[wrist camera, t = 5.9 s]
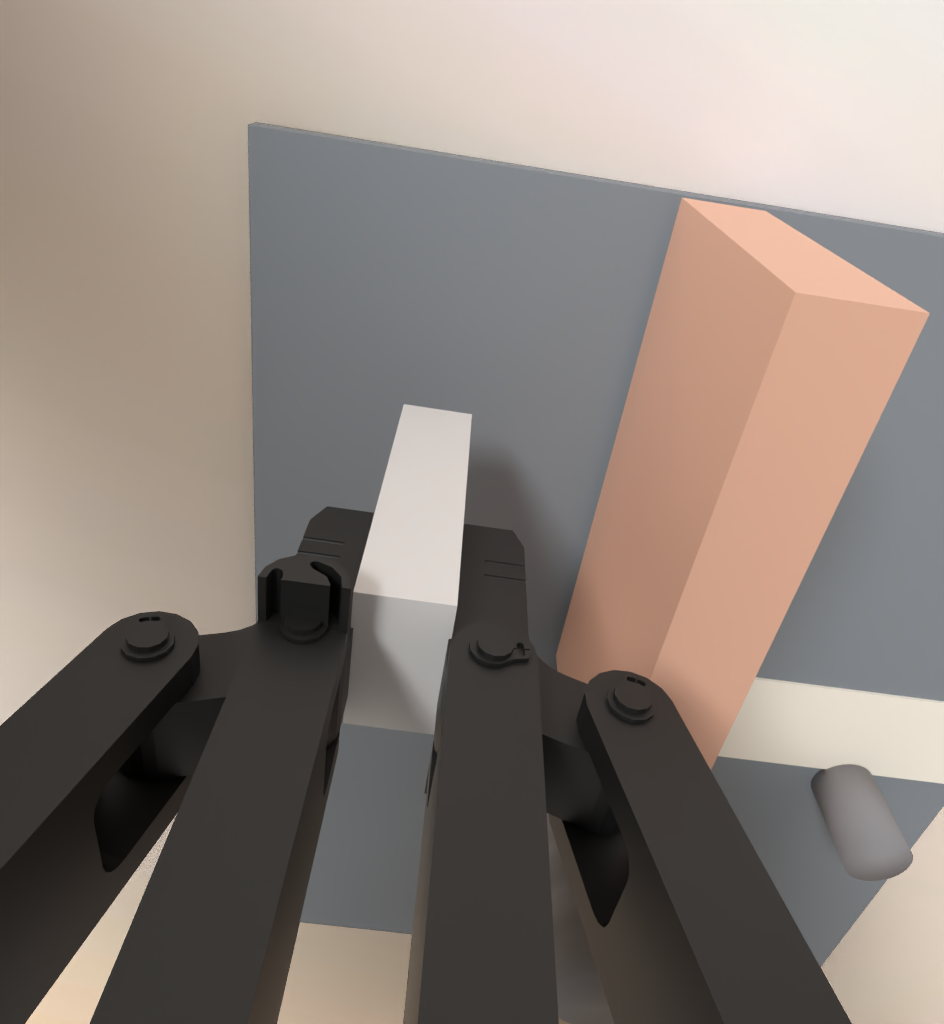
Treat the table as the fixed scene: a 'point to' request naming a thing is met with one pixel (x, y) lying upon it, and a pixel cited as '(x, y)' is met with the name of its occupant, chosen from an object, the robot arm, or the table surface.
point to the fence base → (573, 953)
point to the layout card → (586, 483)
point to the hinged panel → (730, 457)
